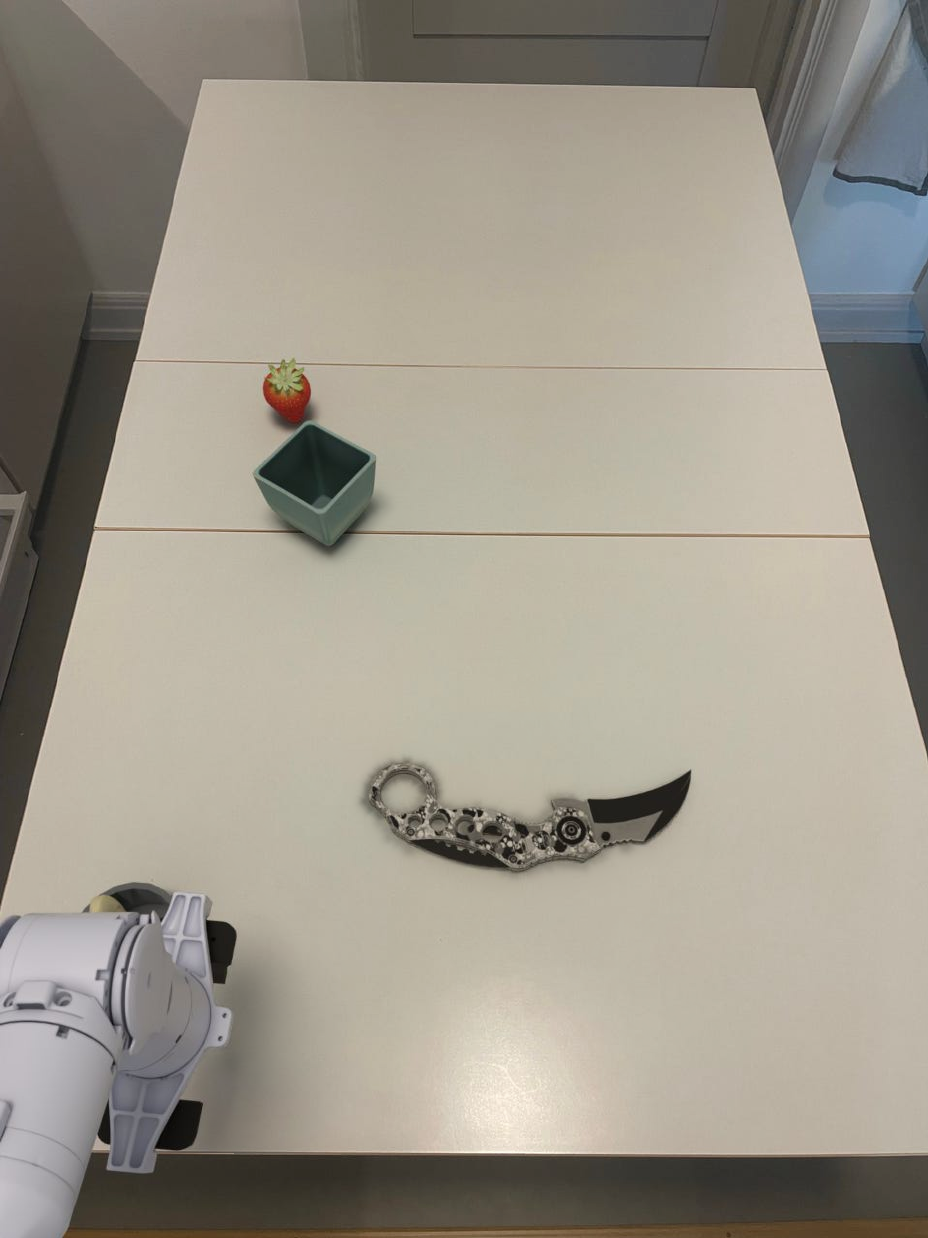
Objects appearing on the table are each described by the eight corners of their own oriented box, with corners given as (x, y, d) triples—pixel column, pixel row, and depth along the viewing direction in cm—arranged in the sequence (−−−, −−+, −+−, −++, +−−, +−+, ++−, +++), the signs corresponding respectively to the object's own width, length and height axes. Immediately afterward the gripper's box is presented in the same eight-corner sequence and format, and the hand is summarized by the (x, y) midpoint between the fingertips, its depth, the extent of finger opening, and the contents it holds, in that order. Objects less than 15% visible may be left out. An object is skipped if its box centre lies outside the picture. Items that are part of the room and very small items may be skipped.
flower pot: (265, 529, 92) (249, 472, 85) (319, 475, 96) (308, 417, 88) (331, 569, 90) (321, 515, 82) (383, 512, 94) (378, 455, 86)
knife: (693, 765, 78) (704, 877, 73) (689, 773, 80) (699, 883, 74) (374, 748, 79) (360, 857, 73) (375, 755, 80) (362, 864, 74)
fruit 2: (277, 441, 99) (265, 388, 92) (264, 408, 101) (251, 354, 94) (321, 429, 100) (312, 375, 93) (307, 396, 102) (298, 342, 95)
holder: (186, 1015, 68) (167, 1005, 64) (79, 1005, 68) (52, 994, 64) (211, 904, 73) (195, 887, 68) (110, 895, 73) (87, 877, 68)
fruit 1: (153, 935, 71) (131, 941, 71) (106, 875, 66) (84, 882, 66) (146, 978, 68) (124, 985, 68) (97, 918, 63) (74, 925, 63)
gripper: (178, 1180, 43) (235, 1175, 54) (240, 878, 50) (278, 930, 62) (34, 1167, 43) (121, 1165, 54) (117, 868, 50) (178, 922, 62)
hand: (197, 1040), depth 58 cm, fingers open, 7 cm apart
